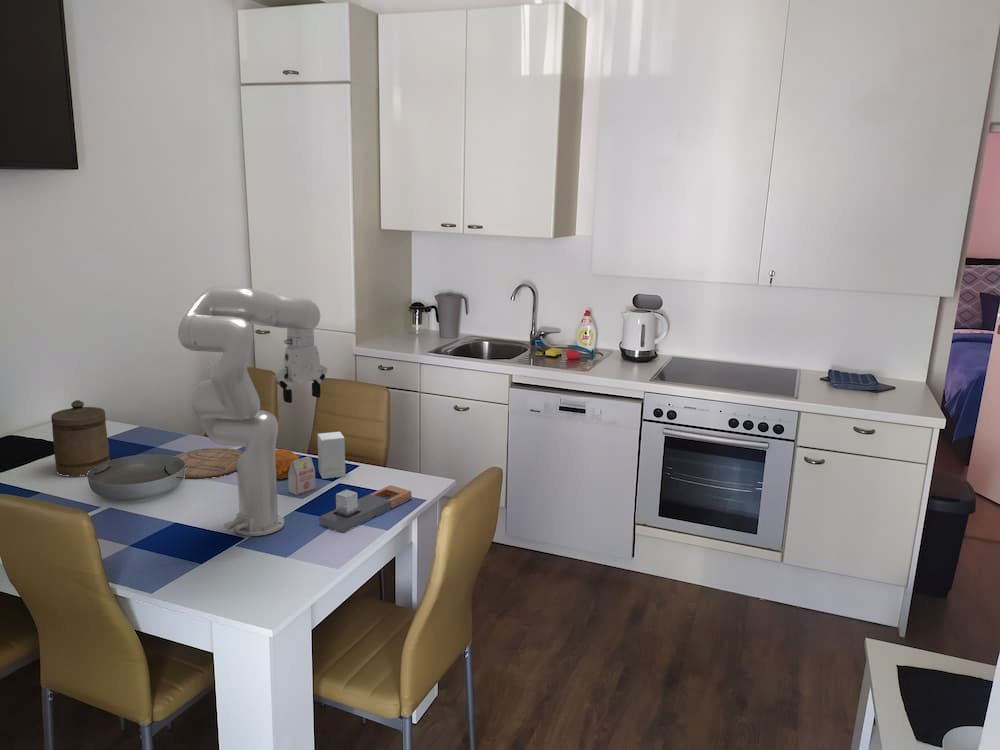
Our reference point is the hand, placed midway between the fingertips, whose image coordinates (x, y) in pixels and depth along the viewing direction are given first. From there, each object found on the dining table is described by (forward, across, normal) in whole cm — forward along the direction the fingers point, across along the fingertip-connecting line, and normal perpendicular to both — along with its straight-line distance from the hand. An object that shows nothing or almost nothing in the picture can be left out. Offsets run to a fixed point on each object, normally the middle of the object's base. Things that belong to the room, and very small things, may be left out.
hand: (302, 399), depth 225 cm
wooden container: (+27, -40, +60) cm, 77 cm away
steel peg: (+27, -7, -30) cm, 41 cm away
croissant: (+27, +1, +15) cm, 31 cm away
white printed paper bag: (+27, -3, -3) cm, 27 cm away
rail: (+27, +1, -28) cm, 39 cm away
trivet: (+27, -11, +37) cm, 47 cm away
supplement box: (+27, +12, +2) cm, 29 cm away
